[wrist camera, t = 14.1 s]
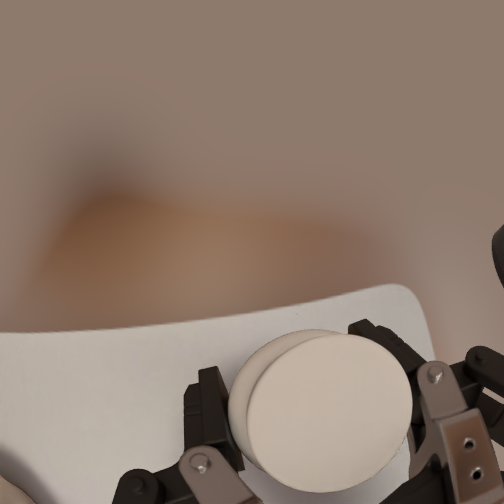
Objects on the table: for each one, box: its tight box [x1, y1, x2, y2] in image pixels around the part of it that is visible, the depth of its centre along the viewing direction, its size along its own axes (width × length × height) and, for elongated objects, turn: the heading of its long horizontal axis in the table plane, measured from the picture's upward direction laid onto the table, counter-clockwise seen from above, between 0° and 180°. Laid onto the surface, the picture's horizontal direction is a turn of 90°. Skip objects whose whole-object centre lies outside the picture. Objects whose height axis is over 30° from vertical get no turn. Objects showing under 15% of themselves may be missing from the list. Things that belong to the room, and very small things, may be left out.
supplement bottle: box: [228, 329, 412, 493], centre depth 9 cm, size 5×5×10 cm
